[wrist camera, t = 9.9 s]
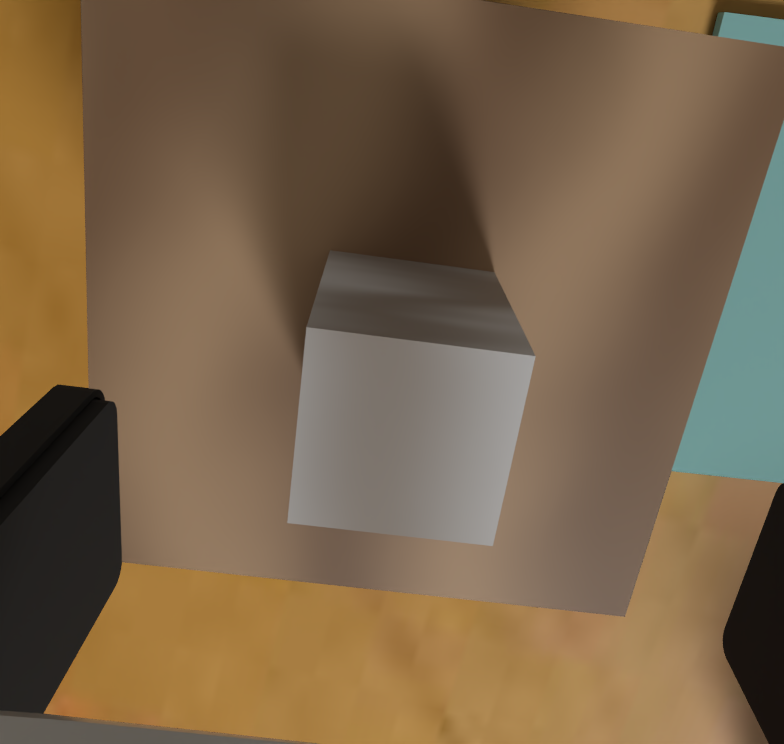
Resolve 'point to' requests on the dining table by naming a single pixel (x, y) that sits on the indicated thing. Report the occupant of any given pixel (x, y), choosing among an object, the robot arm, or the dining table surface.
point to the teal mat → (746, 331)
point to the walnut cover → (409, 282)
